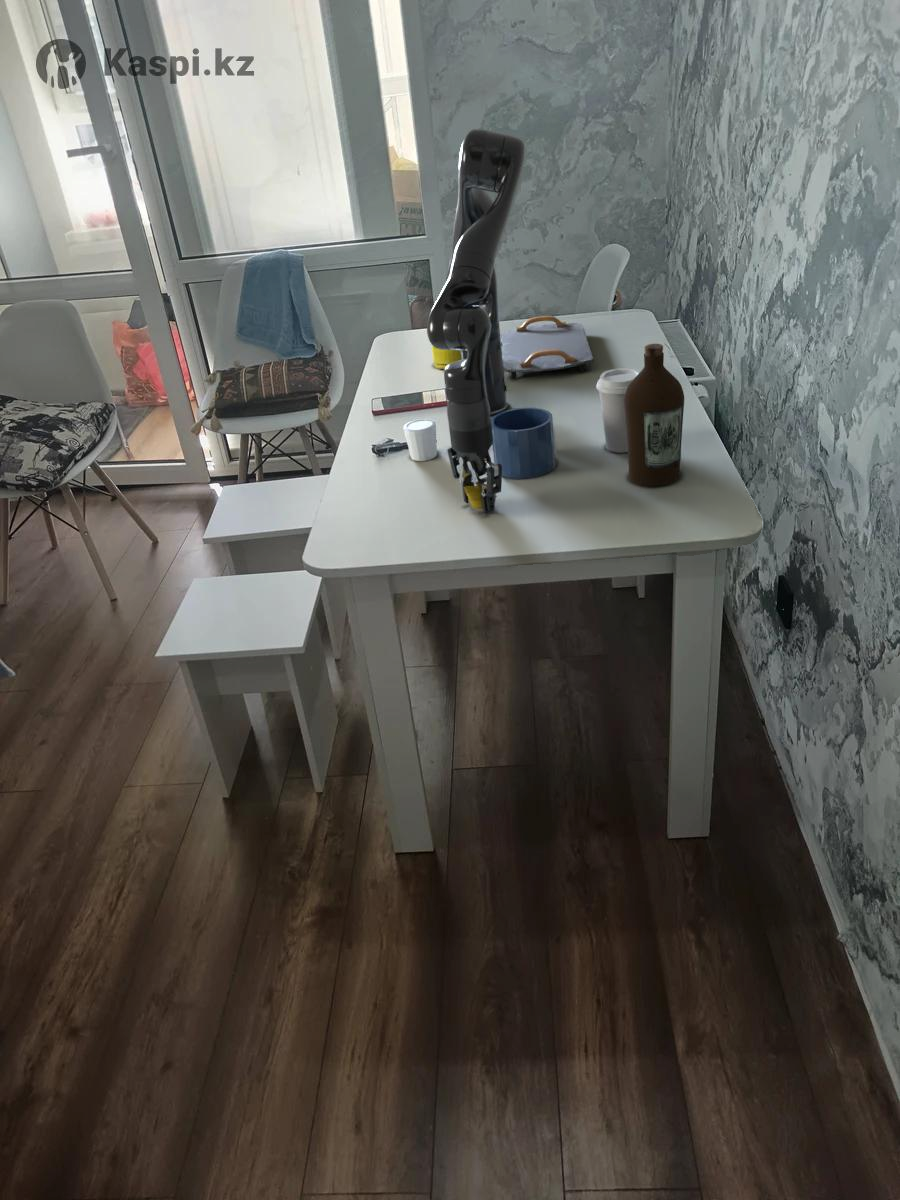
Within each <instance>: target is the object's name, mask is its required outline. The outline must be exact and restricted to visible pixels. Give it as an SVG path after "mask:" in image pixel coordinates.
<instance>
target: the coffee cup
mask: <svg viewBox="0 0 900 1200" xmlns="http://www.w3.org/2000/svg"><path fill="white" fill-rule="evenodd" d="M640 372H641V370H638V369H634V368H627V367H626V368H623V367H622V368H621V367H620V368H613V369H610V370H605V371H604V372H602V373H601V374H600V375H599V379H598V380H597V383H596V386H595V388H596V390H597V391H598V393H599V402H600V408H601V417H602V424H603V433H604V440H605V441H604V442H605V448H606V450H607V451H609V452H612V453H618V454H620V453H622V454H623V453H628V446H627V432H626V419H625V407H624V398H625V393H626V390H627V387H628V386H629V384H630V383H631V382H632V380H633V379H634V378H635V377H636V376H637V375H638V374H639V373H640Z"/></svg>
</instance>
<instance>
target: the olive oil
mask: <svg viewBox="0 0 900 1200" xmlns="http://www.w3.org/2000/svg"><path fill="white" fill-rule="evenodd" d="M663 350H664V345H663V344H661V343H649V344H646V345H645V346H644V353H643V364H644V366H643V368H642V369H641V370H640V373H639V374H638V375H637V376H636V377H635V378H634V379H633V380H632V382H631V383H630V384H629V386H628V387H627V390H626V393H625V398H624V407H625V419H626V432H627V446H628V452H627V460H628V461H627V463H628V464H627V465H628V478H629V480H630V481H631V482H632V483H634V484H636V485H639V486H642V487H651V488H652V487H653V488H655V487H663V486H668V485H670V484H673V483H674V482H676V481H678V480H679V478H680V476H681V460H682V459H681V456H682V439H683V424H684V412H685V411H684V409H685V393H684V390H683V386H682V384H681V383H680V381H679V380H678V379H677V378H676V377H675V375H673V374H672V373H671V372H670V370H668V369H667V368H666V367H665V365H664V362H665V361H664V359H665V357H664V356H665V353H664V352H663Z"/></svg>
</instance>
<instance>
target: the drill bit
mask: <svg viewBox="0 0 900 1200" xmlns="http://www.w3.org/2000/svg"><path fill="white" fill-rule="evenodd" d="M484 486H485V489H486V488H487V483H484ZM464 489H465V491H466V494H467V496H468V503H467V504H468V506H469V508H470V509H471V510H472V511H474V512H475V513H479V514H482V513H483V514H485V513H484V512H483V507H482V498H481V495H482V494H481V491H480V488H479V486H478V485H477V484H476V485H474V486H465V487H464ZM497 497H498V496H497V493H496V494H494V502H495V503H496V499H497Z"/></svg>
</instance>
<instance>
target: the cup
mask: <svg viewBox="0 0 900 1200" xmlns="http://www.w3.org/2000/svg"><path fill="white" fill-rule="evenodd" d="M553 419H554V418H553V414H552V413H551V412H550V411H549V410H547V409H544V408H540V407H516V408H512V409H511V408H510V409H506V410H504V411H502V412H500V413H497V414H494V415H493V416H492V417H491V424H492V434H493V444H492V446H491V447H492V454H493V455H492V456H493V463H494V464H498V463H500V464H501V466H502V477H504V478H507V479H514V480H522V479H523V480H524V479H532V478H536V477H540V476H543V475H546V474H547V473H549V472H551V471H552V470H553V469H554V468H555V466H556V449H555V448H556V447H555V433H554V432H555V431H554V420H553Z"/></svg>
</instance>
